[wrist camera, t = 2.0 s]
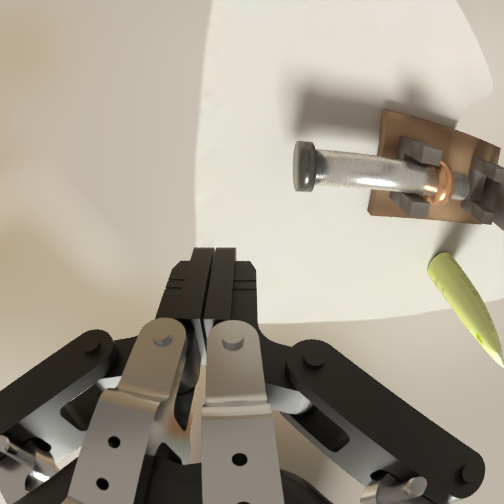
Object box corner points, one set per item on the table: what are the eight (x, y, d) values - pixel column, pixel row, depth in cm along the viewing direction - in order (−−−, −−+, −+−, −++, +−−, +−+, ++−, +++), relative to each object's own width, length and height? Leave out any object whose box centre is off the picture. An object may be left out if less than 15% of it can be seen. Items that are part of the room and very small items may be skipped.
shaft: (294, 134, 23) (303, 144, 19) (453, 159, 23) (478, 174, 19) (291, 182, 26) (299, 202, 22) (444, 196, 26) (467, 215, 22)
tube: (419, 279, 36) (478, 384, 19) (428, 251, 33) (501, 357, 17) (445, 275, 36) (504, 370, 19) (455, 249, 33) (525, 344, 16)
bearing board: (382, 109, 23) (419, 119, 17) (495, 145, 23) (529, 163, 17) (367, 210, 30) (393, 243, 24) (475, 220, 30) (504, 246, 24)
